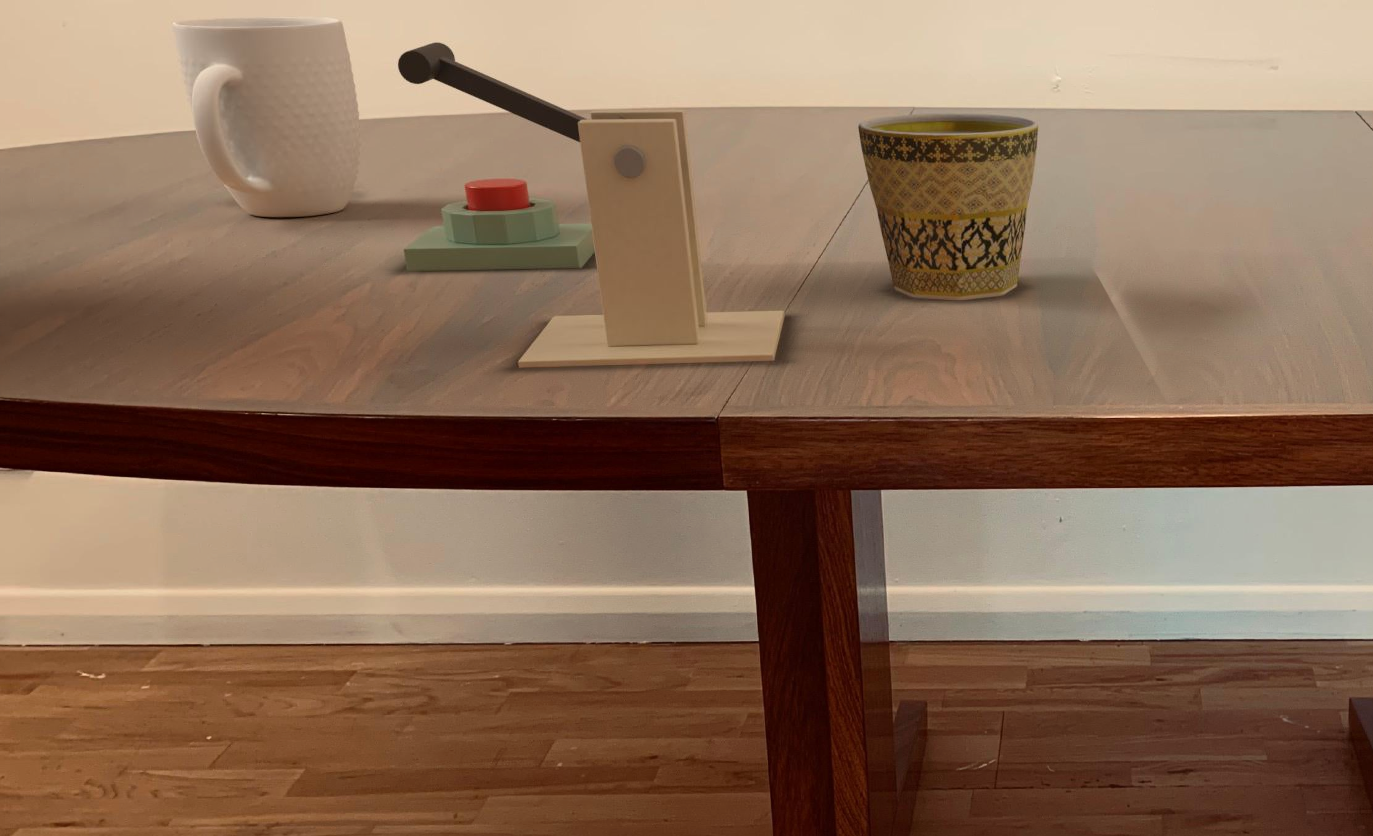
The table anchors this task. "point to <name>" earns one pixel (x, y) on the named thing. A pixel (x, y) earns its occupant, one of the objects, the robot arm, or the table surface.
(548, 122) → the lever
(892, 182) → the ceramic cup
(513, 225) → the button box
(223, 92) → the mug
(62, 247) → the table surface
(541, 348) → the bracket
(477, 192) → the button
